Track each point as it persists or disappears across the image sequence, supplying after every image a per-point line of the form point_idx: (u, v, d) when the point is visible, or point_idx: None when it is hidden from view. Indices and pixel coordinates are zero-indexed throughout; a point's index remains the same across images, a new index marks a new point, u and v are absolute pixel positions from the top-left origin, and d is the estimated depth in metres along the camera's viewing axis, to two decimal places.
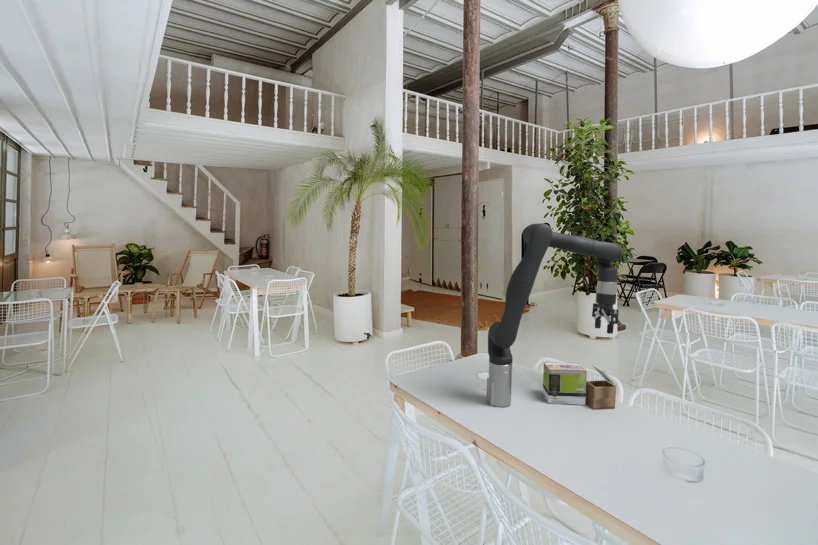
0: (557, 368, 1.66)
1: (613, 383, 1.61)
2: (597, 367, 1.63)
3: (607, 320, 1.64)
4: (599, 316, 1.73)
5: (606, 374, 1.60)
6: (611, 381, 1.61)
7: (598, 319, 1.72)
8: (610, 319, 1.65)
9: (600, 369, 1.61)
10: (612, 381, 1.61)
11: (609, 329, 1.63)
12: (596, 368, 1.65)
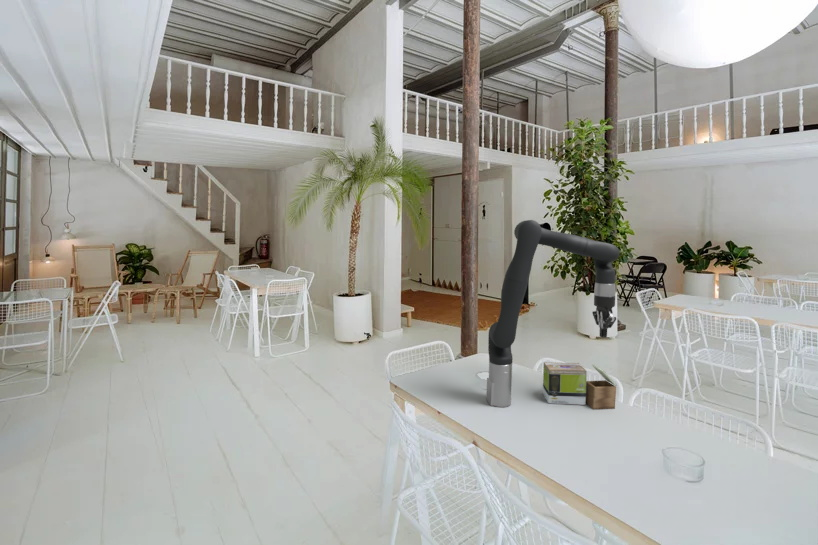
0: (557, 368, 1.66)
1: (613, 383, 1.61)
2: (597, 367, 1.63)
3: (601, 324, 1.61)
4: (603, 324, 1.63)
5: (606, 374, 1.60)
6: (611, 381, 1.61)
7: None
8: (605, 322, 1.61)
9: (600, 369, 1.61)
10: (612, 381, 1.61)
11: (603, 333, 1.61)
12: (596, 368, 1.65)
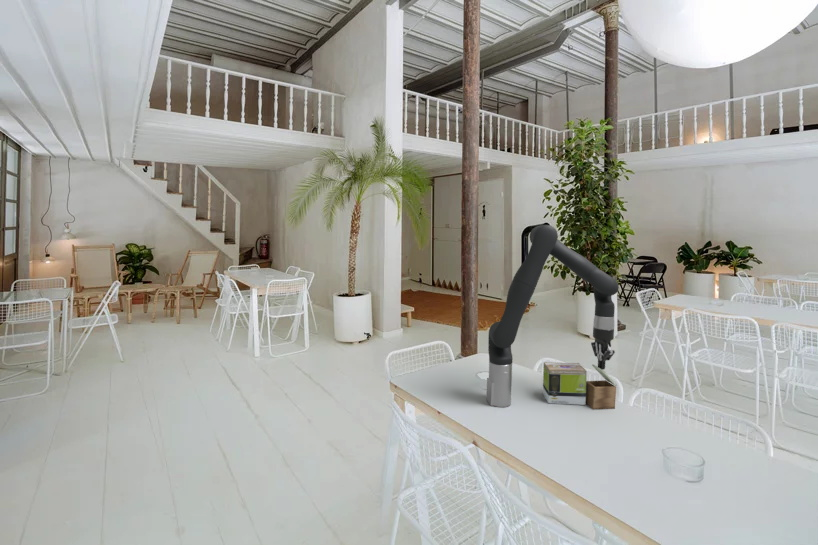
0: (557, 368, 1.66)
1: (613, 383, 1.61)
2: (597, 367, 1.63)
3: (600, 356, 1.62)
4: None
5: (606, 374, 1.60)
6: (611, 381, 1.61)
7: None
8: None
9: (600, 369, 1.61)
10: (612, 381, 1.61)
11: (601, 365, 1.62)
12: (596, 368, 1.65)
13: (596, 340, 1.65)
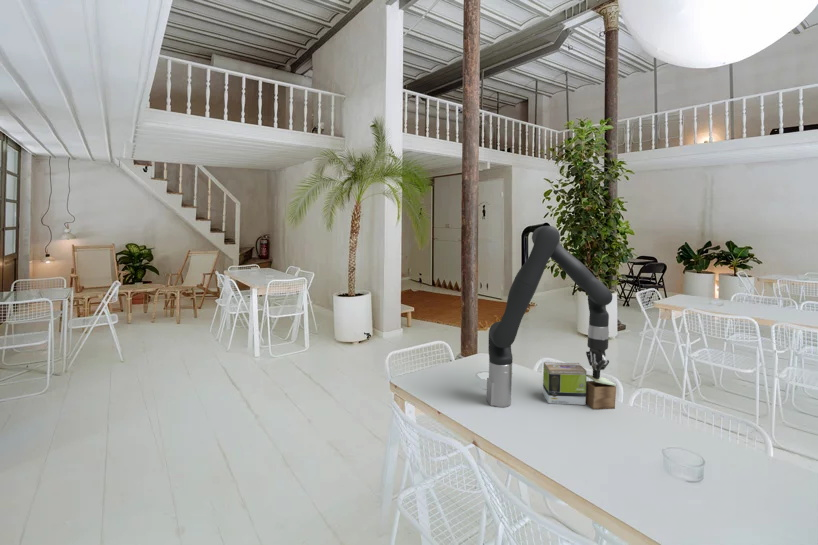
0: (557, 368, 1.66)
1: None
2: (591, 378, 1.63)
3: (595, 365, 1.62)
4: (596, 365, 1.64)
5: (601, 382, 1.60)
6: (610, 384, 1.61)
7: None
8: (598, 363, 1.63)
9: (594, 380, 1.61)
10: (610, 384, 1.61)
11: (596, 375, 1.62)
12: None
13: (591, 349, 1.65)
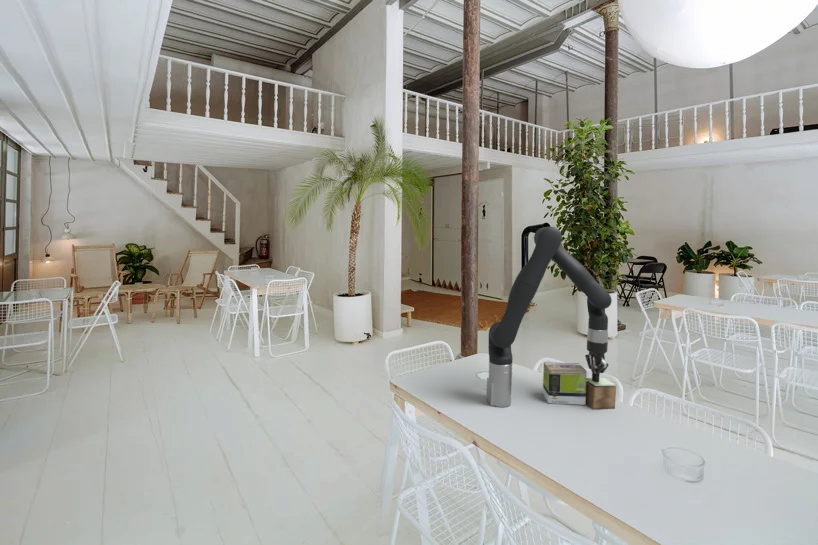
0: (557, 368, 1.66)
1: None
2: (590, 381, 1.64)
3: (594, 369, 1.62)
4: None
5: (601, 385, 1.60)
6: (609, 385, 1.61)
7: None
8: None
9: (593, 384, 1.61)
10: (610, 385, 1.61)
11: (595, 378, 1.63)
12: None
13: (590, 353, 1.65)
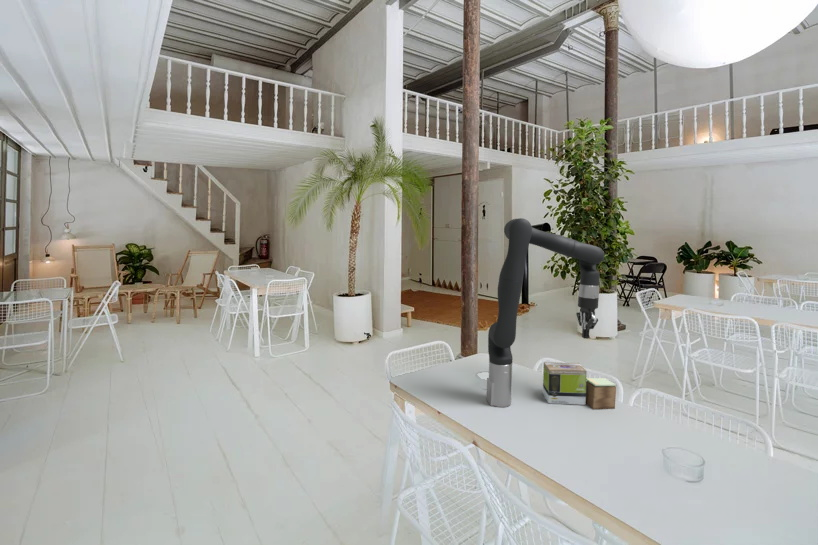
0: (557, 368, 1.66)
1: None
2: (590, 382, 1.64)
3: (584, 325, 1.64)
4: None
5: (601, 385, 1.60)
6: (609, 385, 1.61)
7: None
8: None
9: (593, 384, 1.61)
10: (610, 385, 1.61)
11: (585, 334, 1.64)
12: None
13: (581, 310, 1.66)
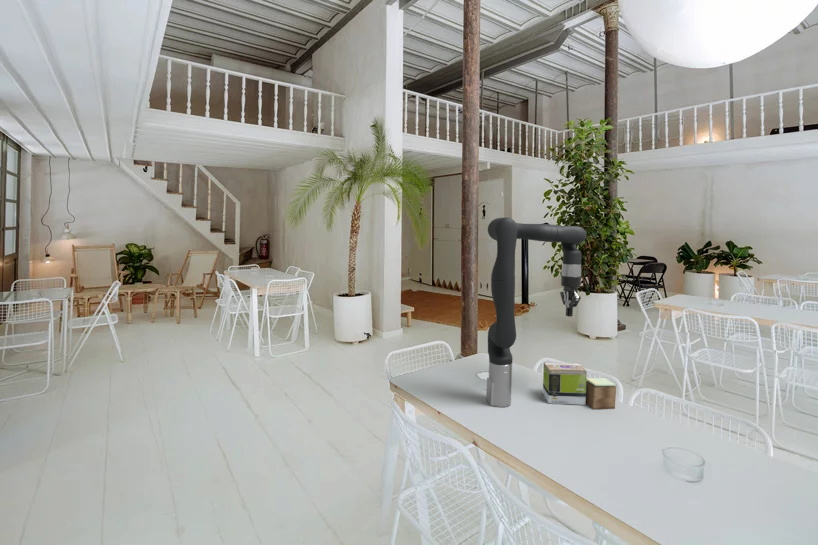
0: (557, 368, 1.66)
1: None
2: (590, 382, 1.64)
3: (567, 303, 1.68)
4: None
5: (601, 385, 1.60)
6: (609, 385, 1.61)
7: None
8: None
9: (593, 384, 1.61)
10: (610, 385, 1.61)
11: (568, 312, 1.68)
12: None
13: (564, 289, 1.71)
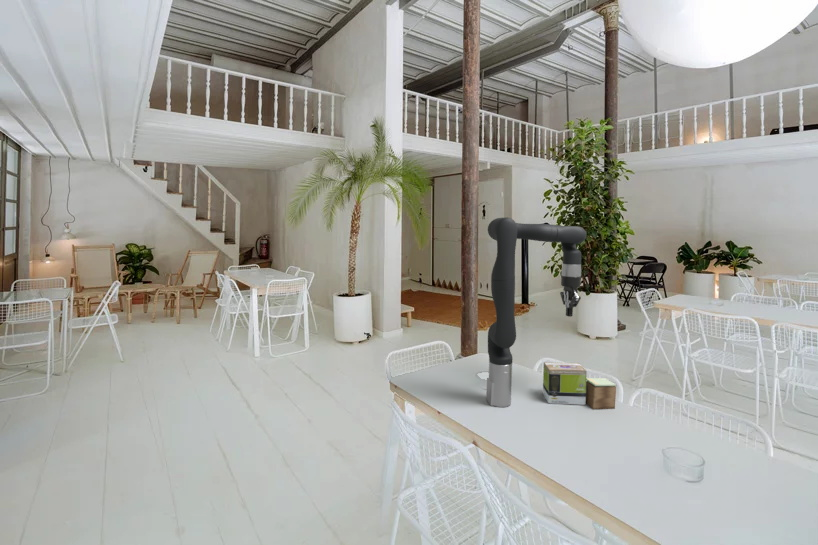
0: (557, 368, 1.66)
1: None
2: (590, 382, 1.64)
3: (567, 303, 1.68)
4: None
5: (601, 385, 1.60)
6: (609, 385, 1.61)
7: None
8: None
9: (593, 384, 1.61)
10: (610, 385, 1.61)
11: (568, 312, 1.68)
12: None
13: (564, 289, 1.71)
